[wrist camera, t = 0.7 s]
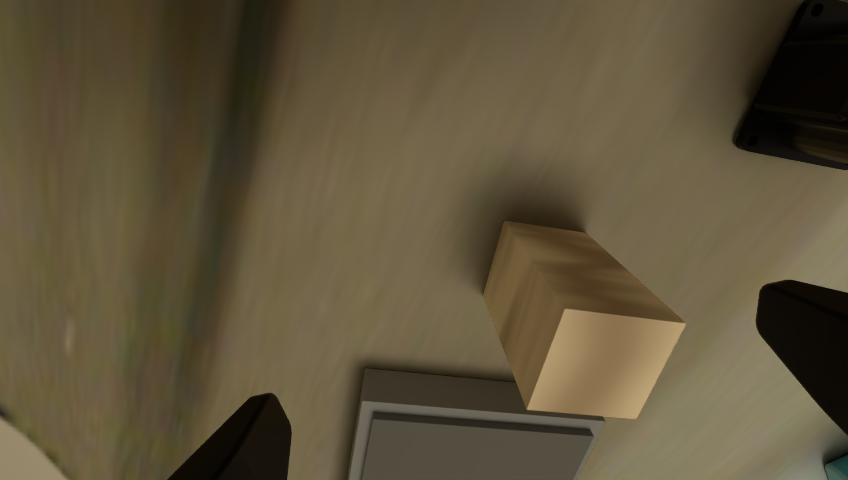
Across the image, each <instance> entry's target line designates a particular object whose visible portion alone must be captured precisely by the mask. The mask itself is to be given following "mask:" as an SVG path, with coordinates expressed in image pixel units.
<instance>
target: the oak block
mask: <svg viewBox="0 0 848 480" xmlns="http://www.w3.org/2000/svg"><path fill="white" fill-rule="evenodd" d="M483 297H484V300H485V302H486V305H487V308H488V310H489V313H490V315H491V318H492V321H493V323H494V326H495V328H496V331H497V334H498V336H499V339H500V341H501V344H502V347H503V349H504V352H505V354H506V357H507V360H508V362H509V365H510V367H511V370H512V373H513V375H514V378H515V380H516V383H517V386H518V388H519V391H520V394H521V396H522V399H523V401H524V404H525V407H526V409H527V410H536V411H547V412H559V413H571V414H583V415H595V416H606V417H618V418H630V419H637V417H638V415H639V413H640V411H641V409H642V407H643V405H644V403H645V401H646V400H647V398H648V396H649V394H650V392H651V390H652V388H653V386H654V384H655V382H656V380H657V379H658V377H659V375H660V373H661V371H662V369H663V367H664V365H665V363H666V361H667V360H668V358H669V356H670V354H671V352H672V350H673V348H674V346H675V344H676V342H677V340H678V339H679V337H680V335H681V333H682V331H683V329H684V327H685V325H686V323H685V322H684V321H683V320H682V319H681V318H680V317H679V316H677V315H676V314H675V313H674V312H673V311H672V310H671V309H670V308H669V307H667V306H666V305H665V304H664V303H663V302H662V301H661V300H660V299H659V298H658V297H656V296H655V295H654V294H653V293H652V292H651V291H650V290H649V289H648V288H646V287H645V286H644V285H643V284H642V283H641V282H640V281H639V280H638V279H637V278H635V277H634V276H633V275H632V274H631V273H630V272H629V271H628V270H627V269H625V268H624V267H623V266H622V265H621V264H620V263H619V262H618V261H617V260H616V259H614V258H613V257H612V256H611V255H610V254H609V253H608V252H607V251H606V250H604V249H603V248H602V247H601V246H600V245H599V244H598V243H597V242H596V241H595V240H593V239H592V238H591V237H590V236H589V235H588V234H587V233H583V232H577V231H570V230H564V229H557V228H551V227H544V226H537V225H531V224H524V223H518V222H511V221H505V220H504V223H503V226H502V230H501V233H500V237H499V241H498V244H497V248H496V251H495V255H494V258H493V262H492V265H491V269H490V273H489V276H488V280H487V283H486V287H485V290H484V294H483Z"/></svg>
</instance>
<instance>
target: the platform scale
mask: <svg viewBox="0 0 848 480" xmlns="http://www.w3.org/2000/svg"><path fill="white" fill-rule="evenodd" d="M605 422H606V421H605V420H604V418H603V416H595V415H583V414H571V413H559V412H547V411H536V410H527V409H526V407H525V404H524V401H523V399H522V396H521V394H520V391H519V388H518V386H517V383H515V382H505V381H494V380H484V379H473V378H463V377H452V376H442V375H431V374H421V373H410V372H400V371H389V370H379V369H368V368H365V371H364V377H363V383H362V389H361V395H360V402H359V408H358V414H357V420H356V426H355V432H354V438H353V444H352V451H351V457H350V463H349V469H348V475H347V480H577V479H578V477H579V475H580V473H581V471H582V469H583V467H584V465H585V463H586V461H587V459H588V457H589V454H590V452H591V450H592V448H593V446H594V444H595V442H596V440H597V438H598V436H599V434H600V432H601V430H602V428H603V426H604V424H605Z"/></svg>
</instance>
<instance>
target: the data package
mask: <svg viewBox="0 0 848 480" xmlns="http://www.w3.org/2000/svg"><path fill="white" fill-rule="evenodd" d="M825 470H826V473H827V476H828V479H829V480H848V455H846V456H844V457H842V458H840V459H837V460H835V461H833V462H830V463H828V464H826V466H825Z"/></svg>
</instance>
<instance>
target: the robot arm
mask: <svg viewBox="0 0 848 480" xmlns="http://www.w3.org/2000/svg"><path fill="white" fill-rule="evenodd" d="M813 7H814V12H813V14H812V15H811V10H812V8H813ZM749 137H751V140H750V141H749V143H747V141H748V139H749ZM736 146H737V148H739V149H741V150H745V151H749V152H754V153H759V154H764V155H770V156H775V157H780V158H785V159H790V160H795V161H800V162H805V163H811V164H816V165H821V166H826V167H831V168H836V169H841V170H848V3H846V2H842V1H838V0H805V1H804V2H803V3H802V4H801V5H800V7H799V9H798V11H797V13H796V15H795V17H794V19H793V21H792V23H791V25H790V27H789V29H788V31H787V34H786V36H785V38H784V40H783V42H782V44H781V46H780V48H779V50H778V52H777V54H776V56H775V59H774V61H773V63H772V65H771V67H770V69H769V71H768V73H767V75H766V77H765V79H764V82H763V84H762V86H761V88H760V90H759V92H758V94H757V96H756V98H755V100H754V102H753V104H752V107H751V109H750V111H749V113H748V115H747V117H746V119H745V121H744V123H743V125H742V127H741V130H740V132H739V134H738V136H737V138H736ZM756 327H757V330H758V332H759V334H760V335H761V337H762V338H763V339H764V340H765V342H766V343H767V344H768V345H769V346H770V348H771V349H772V350H773V351H774V352H775V354H776V355H777V356H778V357H779V358H780V360H781V361H782V362H783V363H784V364H785V366H786V367H787V368H788V369H789V370H790V372H791V373H792V374H793V375H794V376H795V378H796V379H797V380H798V381H799V382H800V384H801V385H802V386H803V387H804V388H805V390H806V391H807V392H808V393H809V394H810V396H811V397H812V398H813V399H814V400H815V401H816V403H817V404H818V405H819V406H820V407H821V408H822V409H823V411H824V412H825V413H826V414H827V415H828V416H829V417H830V418H831V419H832V420H833V421H834V422H835V423H836V424H837V425H838V426H839V427H840V428H841V429H842V430H843V431H844V432H845V433H846V434H847V435H848V293H846V292H842V291H838V290H833V289H829V288H825V287H820V286H816V285H812V284H808V283H803V282H799V281H795V280H783V281H778V282H773V283H769V284H766V285H764V286H763V287H762V288H761V290H760V292H759V299H758V307H757V315H756ZM291 435H292V432H291V425H290V422H289V420H288V418H287V416H286V414H285V412H284V410H283V408H282V406H281V404H280V402H279V400H278V398H277V397H276V395H274V394H273V393H265V394H261V395H256V396H253V397H250V398H249V399H248V400H247V401H246V402H245V403H244V404H243V405H242V406H241V407H240V408H239V409H238V410H237V411H236V412H235V413H234V414H233V415H232V416H231V417H230V418H229V419H228V420H227V421H226V422H225V423H224V424H223V425H222V426H221V427H220V428H219V429H218V430H217V431H216V432H215V433H214V434H213V435H212V436H211V437H209V438H208V439H207V440H206V441H205V442H204V443H203V444H202V445H201V446H200V447H199V448H198V449H197V450H196V451H195V452H194V453H193V454H192V455H191V456H190V457H189V458H188V459H187V460H186V461H185V462H184V463H183V464H182V465H181V466H180V467H179V468H178V469H177V470H176V471H175V472H174V473H173V474H172V475H171V476H170V477H169V478H168V479H167V480H287V475H288V465H289V456H290V446H291Z"/></svg>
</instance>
